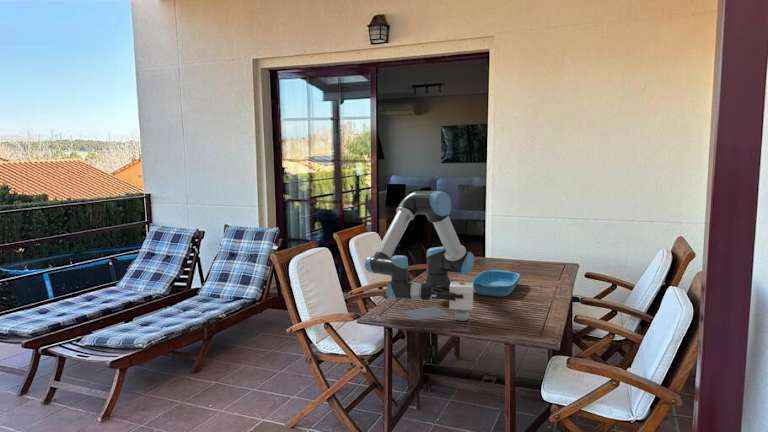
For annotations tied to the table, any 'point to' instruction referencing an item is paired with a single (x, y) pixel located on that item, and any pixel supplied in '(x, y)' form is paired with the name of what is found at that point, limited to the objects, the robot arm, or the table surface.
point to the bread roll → (444, 302)
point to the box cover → (461, 288)
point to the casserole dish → (495, 282)
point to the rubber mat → (425, 313)
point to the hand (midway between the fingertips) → (471, 293)
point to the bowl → (461, 315)
